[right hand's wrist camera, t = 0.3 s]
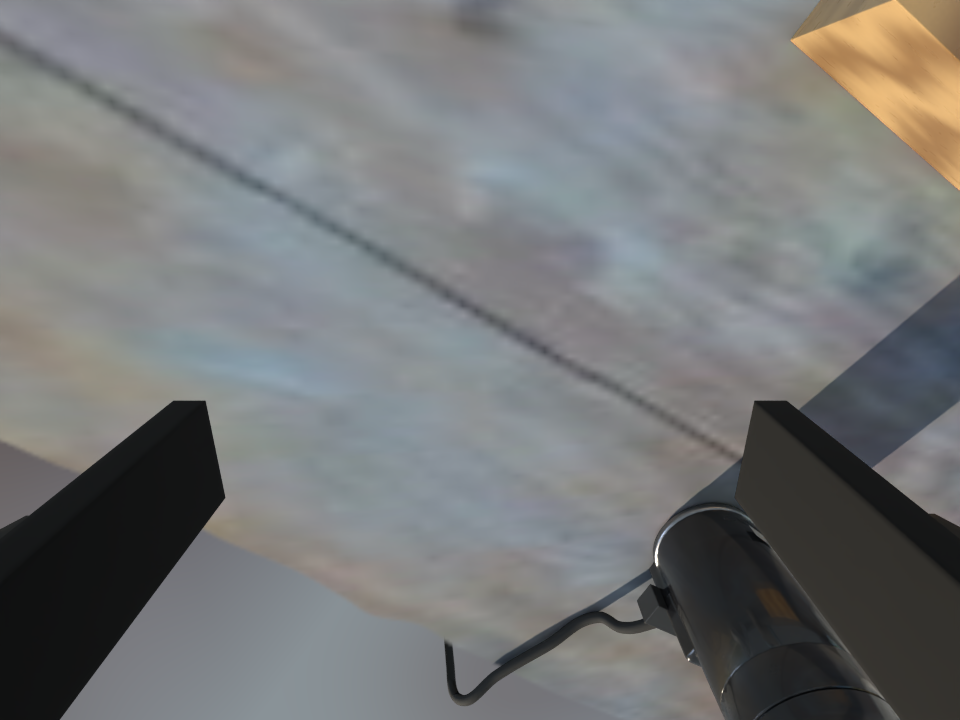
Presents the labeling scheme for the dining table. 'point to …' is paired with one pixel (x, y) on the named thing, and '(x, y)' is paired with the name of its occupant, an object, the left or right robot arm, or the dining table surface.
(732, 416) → the dining table surface
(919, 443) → the dining table surface
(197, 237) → the dining table surface
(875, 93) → the bar
